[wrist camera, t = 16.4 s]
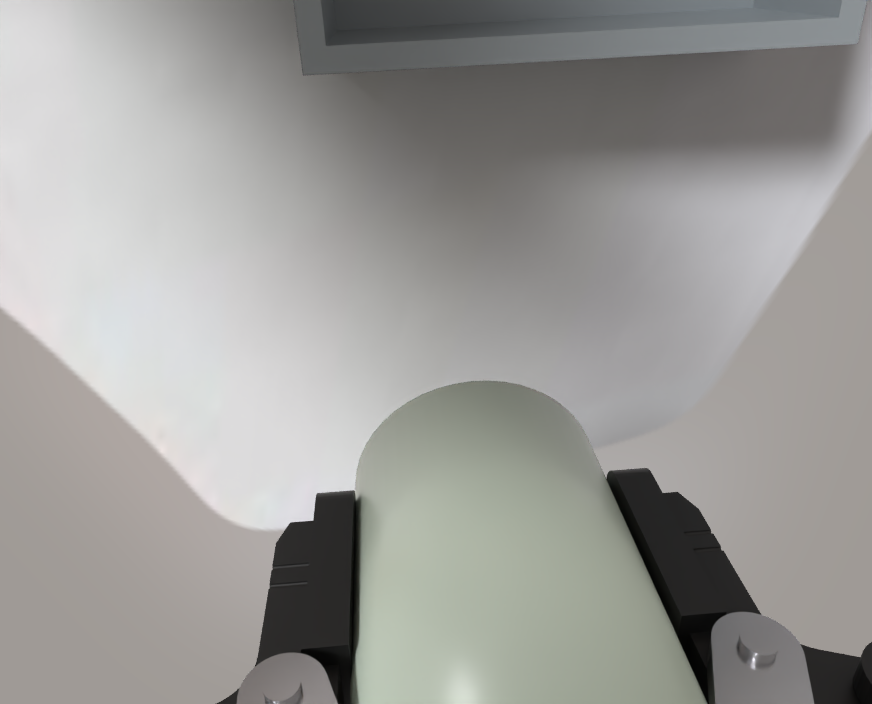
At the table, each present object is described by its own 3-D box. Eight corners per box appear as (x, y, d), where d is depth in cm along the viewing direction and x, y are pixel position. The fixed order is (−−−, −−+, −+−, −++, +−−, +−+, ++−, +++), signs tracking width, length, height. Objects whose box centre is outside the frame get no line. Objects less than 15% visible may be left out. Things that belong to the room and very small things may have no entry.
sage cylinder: (369, 580, 16) (369, 963, 10) (340, 394, 14) (318, 751, 8) (588, 556, 16) (719, 918, 10) (598, 368, 14) (780, 696, 8)
